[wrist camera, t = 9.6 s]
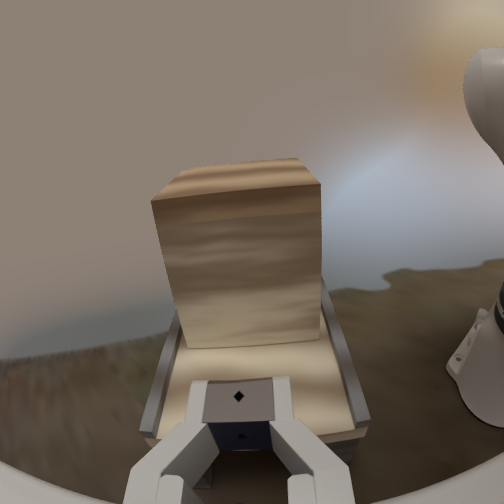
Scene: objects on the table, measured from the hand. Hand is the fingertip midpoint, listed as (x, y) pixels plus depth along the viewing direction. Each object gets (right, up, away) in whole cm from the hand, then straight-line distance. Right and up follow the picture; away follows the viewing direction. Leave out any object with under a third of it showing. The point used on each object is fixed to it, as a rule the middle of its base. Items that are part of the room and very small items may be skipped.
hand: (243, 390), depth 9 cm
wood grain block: (0, -1, +23) cm, 23 cm away
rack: (+1, -14, +24) cm, 28 cm away
